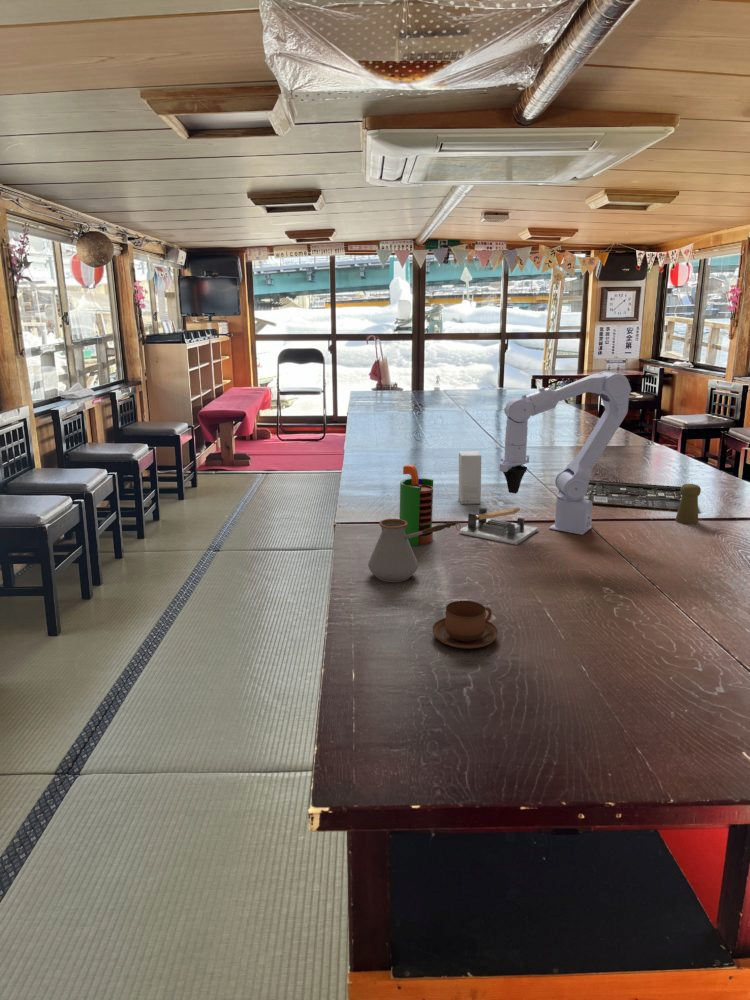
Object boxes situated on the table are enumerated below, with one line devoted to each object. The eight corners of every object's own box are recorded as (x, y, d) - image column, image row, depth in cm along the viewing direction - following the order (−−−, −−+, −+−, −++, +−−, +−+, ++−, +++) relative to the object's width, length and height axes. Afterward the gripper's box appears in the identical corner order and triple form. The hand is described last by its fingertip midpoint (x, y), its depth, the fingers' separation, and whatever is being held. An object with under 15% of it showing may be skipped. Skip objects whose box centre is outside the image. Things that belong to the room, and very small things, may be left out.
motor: (430, 546, 176) (431, 471, 170) (396, 544, 177) (396, 469, 172) (434, 534, 185) (436, 462, 180) (402, 532, 187) (402, 461, 182)
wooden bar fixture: (537, 530, 188) (538, 513, 186) (517, 544, 177) (518, 526, 175) (481, 520, 197) (482, 504, 196) (458, 533, 186) (459, 515, 185)
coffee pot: (359, 581, 154) (359, 517, 150) (380, 564, 164) (380, 504, 160) (450, 596, 145) (452, 529, 141) (465, 577, 155) (468, 514, 151)
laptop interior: (577, 505, 214) (577, 499, 213) (581, 483, 239) (582, 478, 239) (699, 517, 203) (700, 511, 202) (690, 493, 228) (691, 487, 228)
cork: (694, 518, 198) (698, 482, 195) (701, 525, 192) (706, 487, 189) (672, 518, 199) (676, 481, 196) (679, 524, 193) (683, 486, 190)
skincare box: (480, 504, 214) (482, 455, 209) (459, 504, 214) (461, 455, 210) (477, 497, 222) (479, 450, 218) (457, 497, 222) (458, 450, 218)
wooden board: (520, 511, 184) (519, 506, 184) (513, 515, 181) (512, 510, 181) (479, 517, 192) (478, 513, 192) (472, 521, 188) (471, 517, 188)
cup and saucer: (455, 619, 135) (456, 590, 133) (509, 636, 128) (510, 606, 126) (419, 641, 126) (420, 610, 124) (475, 661, 119) (476, 629, 117)
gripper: (513, 438, 191) (511, 485, 195) (490, 446, 180) (487, 495, 184) (537, 440, 187) (534, 488, 191) (514, 449, 176) (512, 500, 180)
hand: (513, 492), depth 187 cm, fingers closed
